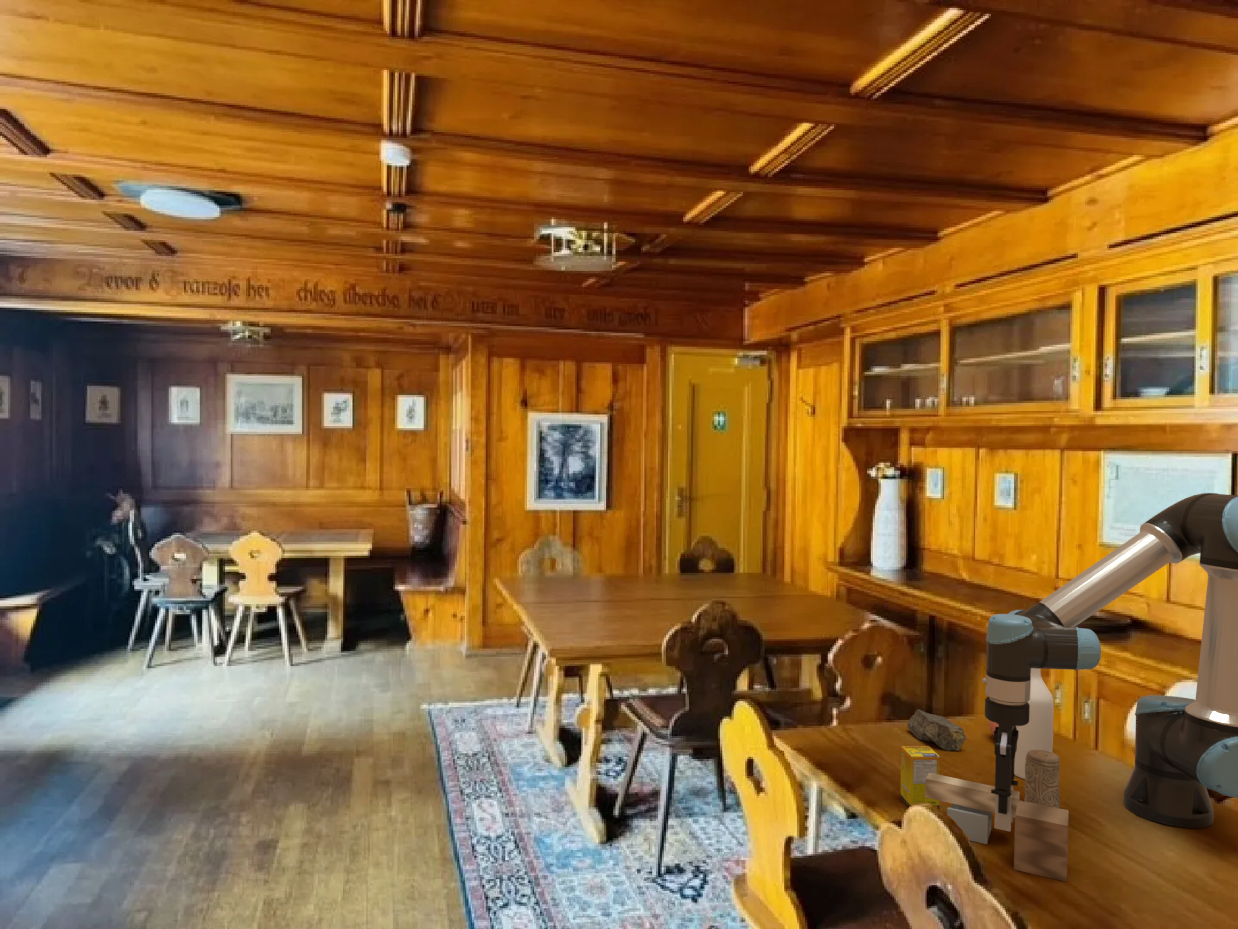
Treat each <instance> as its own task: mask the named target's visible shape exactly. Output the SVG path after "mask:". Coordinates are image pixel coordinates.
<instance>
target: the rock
mask: <svg viewBox="0 0 1238 929" xmlns="http://www.w3.org/2000/svg"><path fill="white" fill-rule="evenodd" d="M907 729H908V730H909V731H910V733H912V734H913V736H915V737H916V739H918V740H920V741H923V742H928V743H934V744H936V745H937V746H938V747H939V748H940V749H942V750H944V751H948V752H952V751H957V752H958V751H960V750H961V748H962V745H964V744H965V742H966V740H967V738H966V734H965V731H964V729H963V728H962V727H961V726H960V725H958V724H955V723H953V722H951V721H950V720H949V719H947V718H946V717H944V716H942V715H937V714H932V713H928V712H925V711H924V710H921V709H917V710H916V711H915V712H914V714H912V715H911V717H910V718H909V720H908V722H907Z"/></svg>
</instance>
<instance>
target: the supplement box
mask: <svg viewBox="0 0 1238 929" xmlns="http://www.w3.org/2000/svg"><path fill="white" fill-rule="evenodd" d="M900 748H901V749H900V799H901V798H902V799H903V800H904V801H905V802H906V803H907V804H908V806H911V805H914V804H915V803H931V804H933V805H935V806H937V807H938V808H939V809H940V801H939V800H935V799H931V798H926V797H925V791H926V778H927V776H928V774H929V773H934V774H938V775H940V767H941V766H940V762H941V761H940V758H941V756H940V755H939V754H938V753H937V752H935V750H933V748H932V747H930V746H929V745H920V746H919V745H917V746H915V745H907V746H905V745H904V746H903V745H901V746H900ZM902 799H901V800H902ZM903 800H902V801H903ZM904 801H903V802H904ZM905 802H904V803H905ZM906 803H905V804H906ZM908 806H907V807H908Z"/></svg>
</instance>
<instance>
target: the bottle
mask: <svg viewBox="0 0 1238 929" xmlns="http://www.w3.org/2000/svg"><path fill="white" fill-rule="evenodd" d="M1030 679H1031V689H1030V700H1029V701H1028V704H1029V705H1030V711H1029V723H1028V724H1026V725H1023V726H1016V728H1017V730H1019V736H1018V740H1017V750H1016V753H1015V764H1014V774H1015V777H1018V778H1020V779H1023V780H1025V762H1026V757H1027V756H1026V755H1027V753H1028V752H1029V751H1030V750H1044V751H1048V752H1052V753H1053V750H1054V749H1053V746H1054V745H1053V744H1054V743H1053V742H1054V738H1053V731H1054V697H1053V695H1052V693H1051V692H1050V691H1051V690H1049V688H1048V687H1047V685H1046V683H1045V681H1044V680H1043V678H1042V669H1035V668H1031V678H1030Z"/></svg>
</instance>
